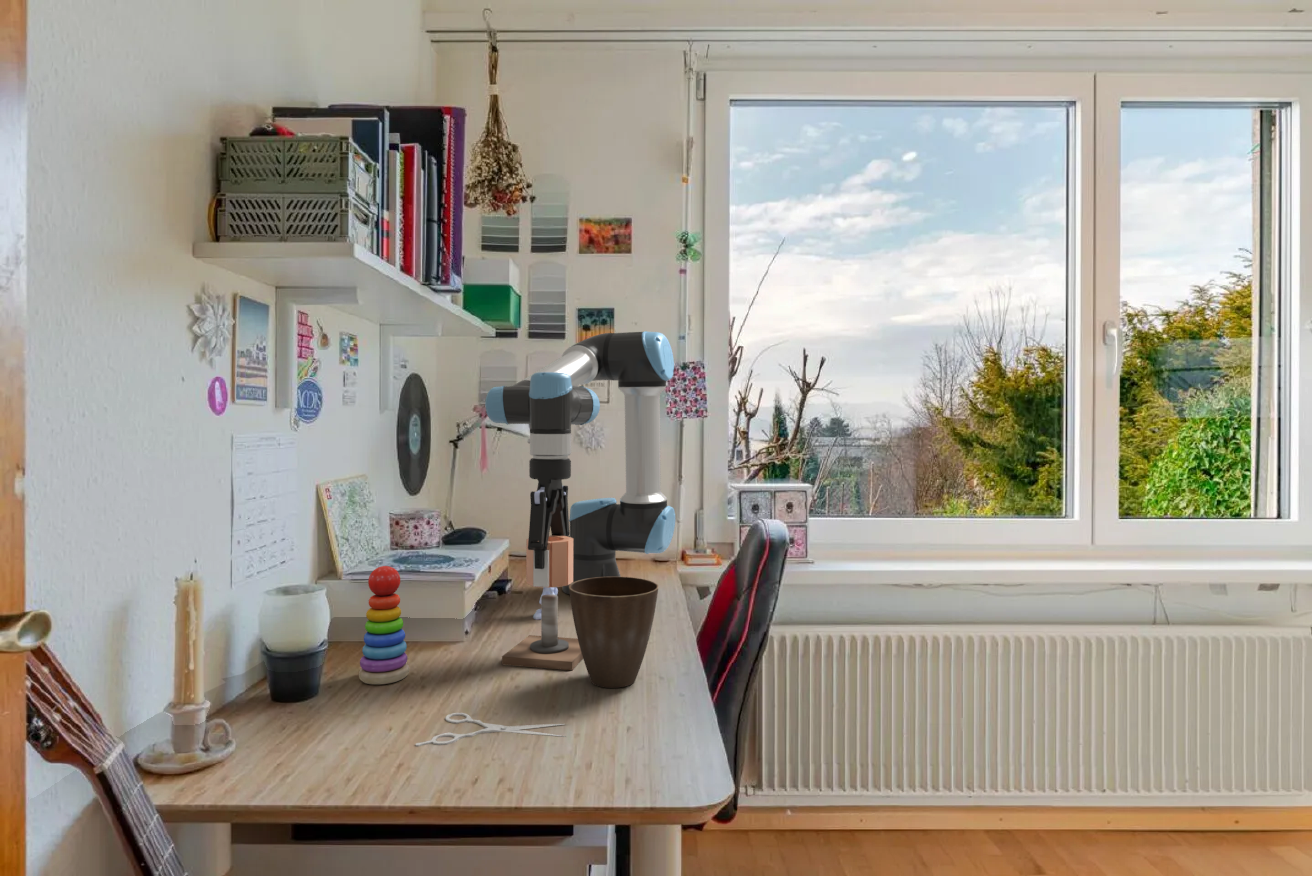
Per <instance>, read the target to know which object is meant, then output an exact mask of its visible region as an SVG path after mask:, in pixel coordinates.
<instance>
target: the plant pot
mask: <svg viewBox="0 0 1312 876" xmlns="http://www.w3.org/2000/svg"><path fill="white" fill-rule="evenodd" d="M569 592H570V594H569V600H570V606H571V613H572V618H573V623H574V629H575V634H576V637H577V639H578V642H579V646H580V649H581V653H582V656H583V659H582V661H583V662H584V666H585V668H586V671H587V673H588V676H589V679H590V681H591V683H592V684H593V685H594V686H597V687H601V688H607V689H615V688H616V689H619V688H624V687H628V686H630V685H633V684H634V683H635V682H636V679H637V677H638V674H639V672H640V668H641V666H642V663H643V660H644V657H645V655H646V651H647V647H648V644H649V641H650V640H649V639H650V636H651V633H652V627H653V623H654V618H655V612H656V607H657V600H658V594H659V584H657V583H656V582H655V581H652V580H649V579H645V578H639V577H631V576H621V577H595V578H587V579H582V580H578V581H576V582H573V583H571V584H570V585H569Z"/></svg>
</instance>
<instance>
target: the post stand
mask: <svg viewBox="0 0 1312 876" xmlns="http://www.w3.org/2000/svg"><path fill="white" fill-rule="evenodd" d="M540 598H541V604H540V605H541V608H540V609H541V619H540V620H541V621H540V623H541V624H540V625H541V626H540V627H541V628H540V630H541V631H540V632H541V633H540V634H541V635H532V634H529V635H528V636H526V637H525V638H523V639H522V640H521V641H519V643H517V644H516V645H515V646H513V648H511V649H509V650H508V651H507V652H506V653H504V654H503V655H502V656H501V664H502V665H503V666H511V667H512V666H514V667H515V666H516V667H528V668H539V669H549V670H552V669H553V670H564V671H573V670H574V669H576V667H577V666H578V665H579V664H580V662H582V661H583V656H582V653H581V649H580V646H579V642H578V638H576V637H575V638H574V637H573V638H572V637H562V636H559V629H558V628H559V596H558V594H557V595H552V594H550V595H543V596H542V597H541V596H540Z"/></svg>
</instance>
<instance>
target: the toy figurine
mask: <svg viewBox="0 0 1312 876" xmlns="http://www.w3.org/2000/svg"><path fill="white" fill-rule="evenodd" d="M558 592H559V590H558V587H550V588H547V587H542V593H541V595H540V598H539V602H538V603H539V604H540V605H541V597H542V596H543V595H550V594H552V595H557V596H558V594H559V593H558ZM532 618H533V619H534V620H541V608H538V609H536V611H535V613H534V614H533V617H532Z"/></svg>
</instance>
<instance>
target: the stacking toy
mask: <svg viewBox="0 0 1312 876" xmlns="http://www.w3.org/2000/svg"><path fill="white" fill-rule="evenodd" d="M367 582H368V587H369V589H370V591H371V592H372V593H373V595H371V596H370V597H369V599H368V606H369V607H370V608H369V609H367V611H366V612H365V616H366V618H367V621H366V622H365V625H364V628H365V630H366V633H364V636H363V643H364V646H362V655H363V656H361V658H360V660H359V667H360V670H359V672H358V678H359V680H360V681H361V682H363V683H364V684H367V685H386V684H387V685H388V684H392V683H397V682H399V681H401V680H403V679H405V678H406V677H408V675H409V674H410V666H409V664H408V663H407V662H408V655H407V654H406V651H407V647H408V646H407V645H408V644H407V642H406V641H405V638H406V633H405V630H404V629H402V628H403V627H404V621H403V618H402V617H401V615H402V609H401V607H399V605H400V603H401V597H400V595H399V594H397V593H396V591H398V588H399V587H400V584H401V576H400V573H399V571H397V569H396V568H394V567H393V566H388V565H382V566H379V567H377V568H375V569H373V570H372V572H371V573H370V574H369V576H368V581H367Z"/></svg>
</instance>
